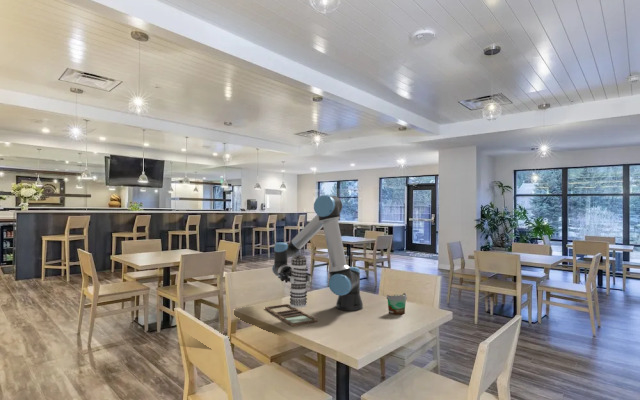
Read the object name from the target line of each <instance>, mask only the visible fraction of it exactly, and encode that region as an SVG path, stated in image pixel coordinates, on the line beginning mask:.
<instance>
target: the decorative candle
mask: <svg viewBox="0 0 640 400" xmlns="http://www.w3.org/2000/svg"><path fill="white" fill-rule="evenodd" d="M290 259H291V264H290V267H291V269H290V275H291V277H293V278H294V284H292V283H290V286H291V287H290V291H289V295H290V298H289V300H290V301H289V305H290V306H291V307H295V308H296V309H298V308H299V309H302V308H305V307H307V305H308V304H307V303H308V302H307V301H308V298H307V296H308V295H307V294H308V291H307V282H308V281H307V280H306V278H307V276H306V275H307V274H308V272H307V271H309V269H308V266H307V258H306V256H305V255H302V254H297V255H295V256H292V257H291V258H290Z"/></svg>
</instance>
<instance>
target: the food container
mask: <svg viewBox="0 0 640 400" xmlns="http://www.w3.org/2000/svg"><path fill="white" fill-rule="evenodd" d="M386 299H387V307H388V314H390V315H395V316H402V315H404V314H405V312H406V301H407V300H408V295H407V293H405V292H403V293H402V294H394V295H390V294H387V295H386Z"/></svg>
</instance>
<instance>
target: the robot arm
mask: <svg viewBox="0 0 640 400" xmlns="http://www.w3.org/2000/svg"><path fill="white" fill-rule="evenodd" d="M313 210H314V213H315V214H316V215H315V216H314V217H313V218H312V219H311V220H310V221H309V222H308V223H307V224H306V225H305V226H304V228H302V229H301V230H300V231H299V233H297V234H296V235H295V236H294V237H293V238H292V239H291V240H290V242H288V243H287V242H283V241H282V242H276V243H274V249H273V250H274V251H273V252H274V253H273V254H274V255H273V257H274V263H273V265H272V267H271V268H272V270H271V271H272V273H273V274H274V275H275V276H277V277H278V279H280V281H281V282H284V281H285V282H284V283H289V284H291V283H292V284H294V278H293V277H291V275H290V269H291V265H290V266H289V265H288V258H290V257H291V258H292V257H293V256H295V255H299V253H300V250H301V249H302V248H303V247H305V245H306V244H307V243H308V242H310V240H311V239H312V238H314V236H315V235H316V234H317V233H318V232H319V231H320V230H321V229H322V228H323V232H324V237H325V238H324V239H325V242H326V248H327V253H328V259H329V263H330V268H329V270H328V273H329V280H328V287H329V290H330V291H331V293H333V294H334V295H336V296H337V301H336V302H335V303H336V304H335V307H336V309H339V310H341V311H348V312H350V311H351V312H352V311H361V310H362V309H363V308H364V304H363V300H362V297H361V294H360V293H361V292H360V291H361V285H360V284H361V280H360V279H361V278H360V277H361V275H360V274H361V271H360V268H359V267H355V266H349V265H348V264H347V259H346V255H345V249H344V244H343V239H342V234H341V230H340V229H341V227H340V224H339V220H340V219H341V215H340V213H341V212H342V210H343V202H342V200H341V199H340V198H339V197H338V196H336V195H330V194H323V195H320V196H318V197H317V198H316V199H315V201H314V203H313ZM307 273H308V272H307ZM306 276H307V278H306V280H307V282H309V283H312V274H311V273H308V274H307V275H306Z"/></svg>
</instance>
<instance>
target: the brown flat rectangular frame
mask: <svg viewBox="0 0 640 400" xmlns="http://www.w3.org/2000/svg"><path fill="white" fill-rule="evenodd" d="M284 307H288V308H289V309H288V310H287V309H286V310H282V311H274V310H273V309H277V308H284ZM265 310H266V311H267V312H270V313H271V314H272V315H274V316H275V317H277V318H279V319H280V320H282V321H283V322H284V323H286V324H288V325H289V326H290V327H296V326H302V325H307V324H313V323H317V322H318V319H317V318H315V317H313V316H311V315H309V314H308V313H305V312H304V311H302V310H300V309H298V308H295V307H291V306H290V303H284V304H279V305H270V306H265Z"/></svg>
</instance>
